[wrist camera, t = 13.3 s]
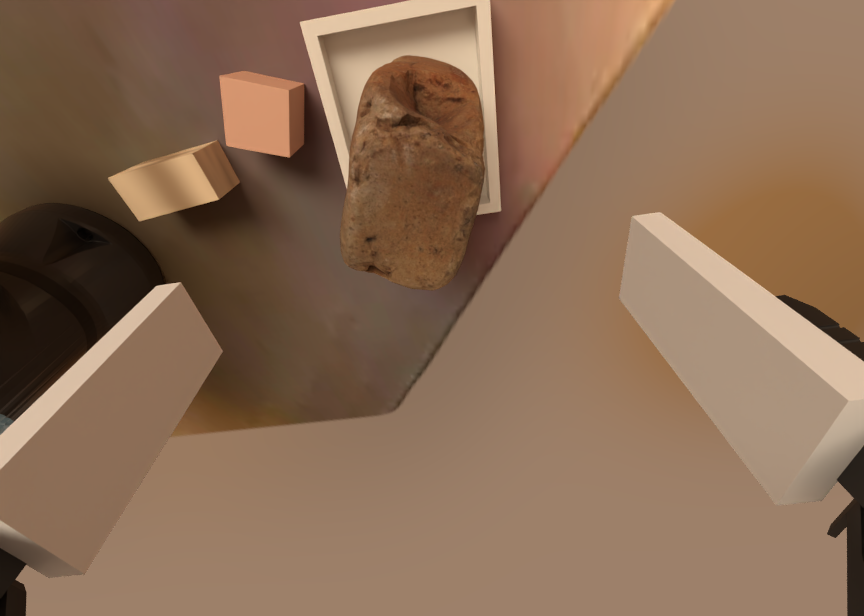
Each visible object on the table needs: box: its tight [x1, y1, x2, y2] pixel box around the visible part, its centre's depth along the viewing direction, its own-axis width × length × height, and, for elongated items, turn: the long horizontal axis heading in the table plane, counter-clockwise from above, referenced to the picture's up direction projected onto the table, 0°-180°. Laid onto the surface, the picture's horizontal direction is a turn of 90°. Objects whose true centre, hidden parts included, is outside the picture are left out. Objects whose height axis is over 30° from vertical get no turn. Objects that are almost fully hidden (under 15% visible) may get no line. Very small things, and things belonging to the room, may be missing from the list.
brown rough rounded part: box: [340, 55, 485, 290], centre depth 27 cm, size 11×8×20 cm
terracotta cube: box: [219, 71, 304, 158], centre depth 33 cm, size 5×5×5 cm
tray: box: [300, 0, 501, 215], centre depth 34 cm, size 14×17×3 cm
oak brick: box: [108, 140, 240, 221], centre depth 36 cm, size 8×4×5 cm, turn 104°
